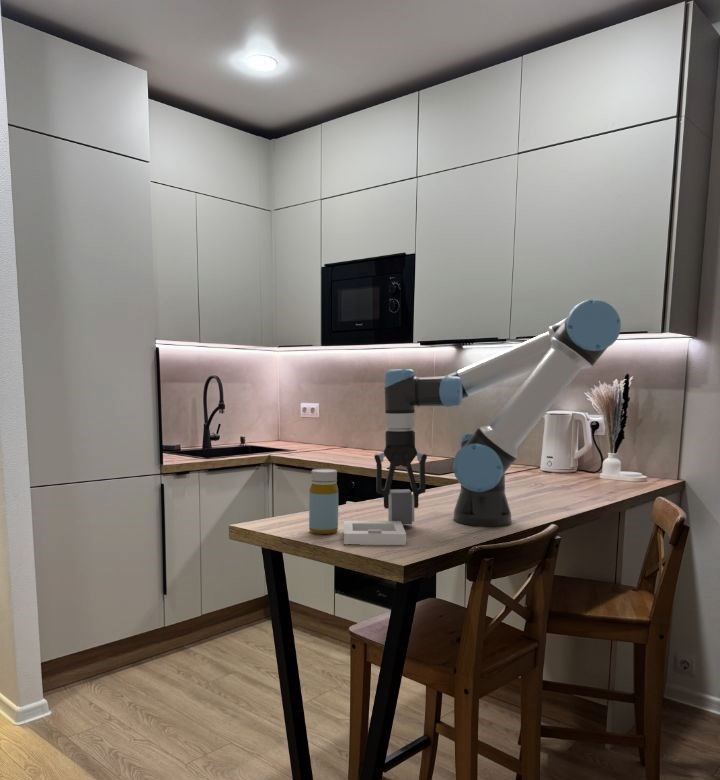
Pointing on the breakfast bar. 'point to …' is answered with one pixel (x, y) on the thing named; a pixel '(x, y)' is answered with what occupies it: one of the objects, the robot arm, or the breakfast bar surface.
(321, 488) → the bottle
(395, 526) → the socket plate
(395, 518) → the plug
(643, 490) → the breakfast bar surface
